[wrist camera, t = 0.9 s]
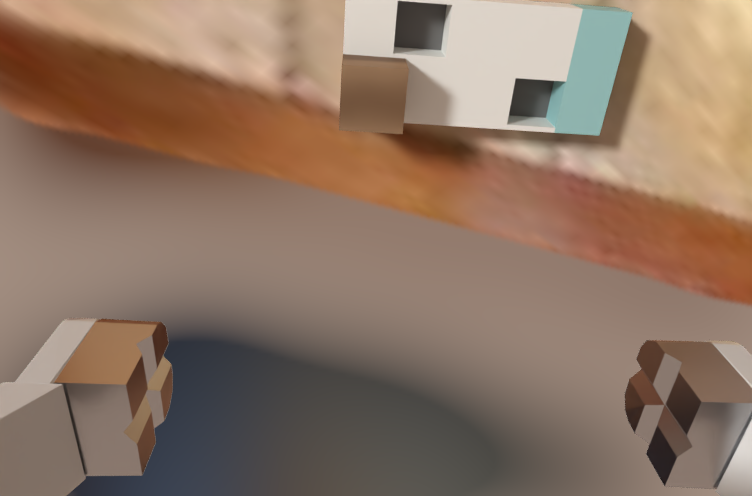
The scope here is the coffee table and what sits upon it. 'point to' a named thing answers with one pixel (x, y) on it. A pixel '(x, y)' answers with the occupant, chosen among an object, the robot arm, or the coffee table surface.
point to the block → (373, 94)
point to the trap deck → (496, 60)
